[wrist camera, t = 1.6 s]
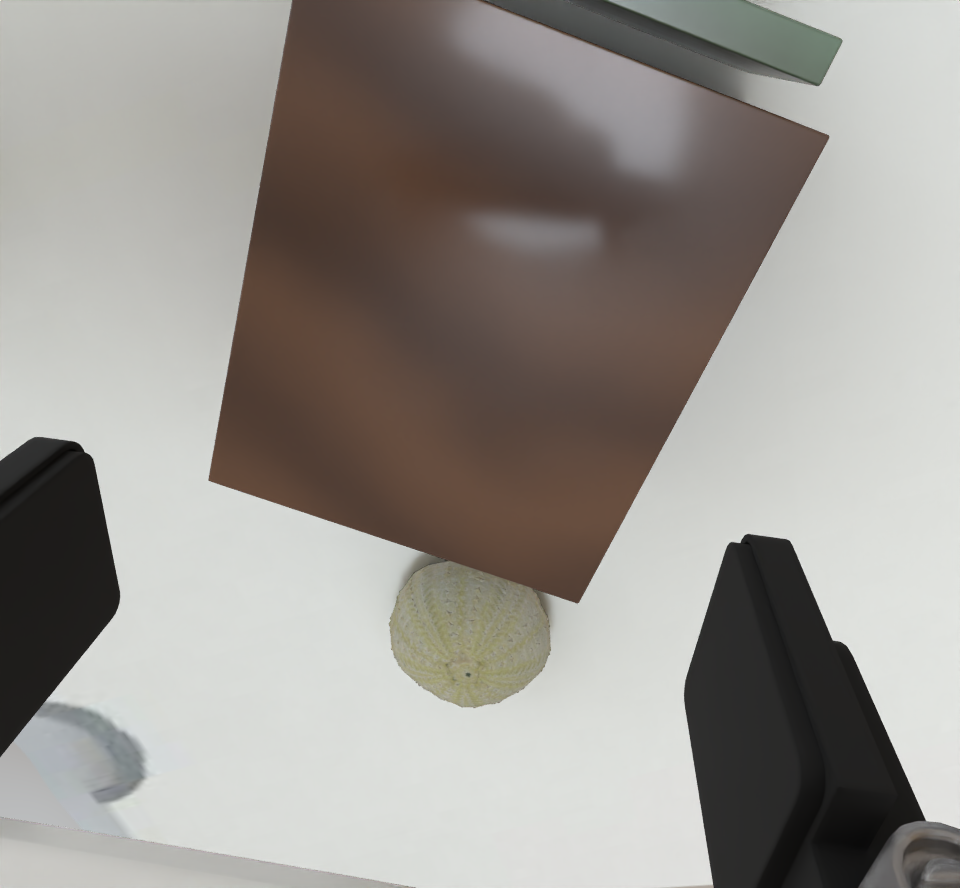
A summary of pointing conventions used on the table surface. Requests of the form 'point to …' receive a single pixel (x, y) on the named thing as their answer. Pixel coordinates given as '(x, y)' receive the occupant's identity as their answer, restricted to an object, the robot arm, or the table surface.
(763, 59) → the drawer
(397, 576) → the table surface
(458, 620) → the sea urchin shell
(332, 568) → the table surface
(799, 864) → the robot arm
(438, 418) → the cabinet
